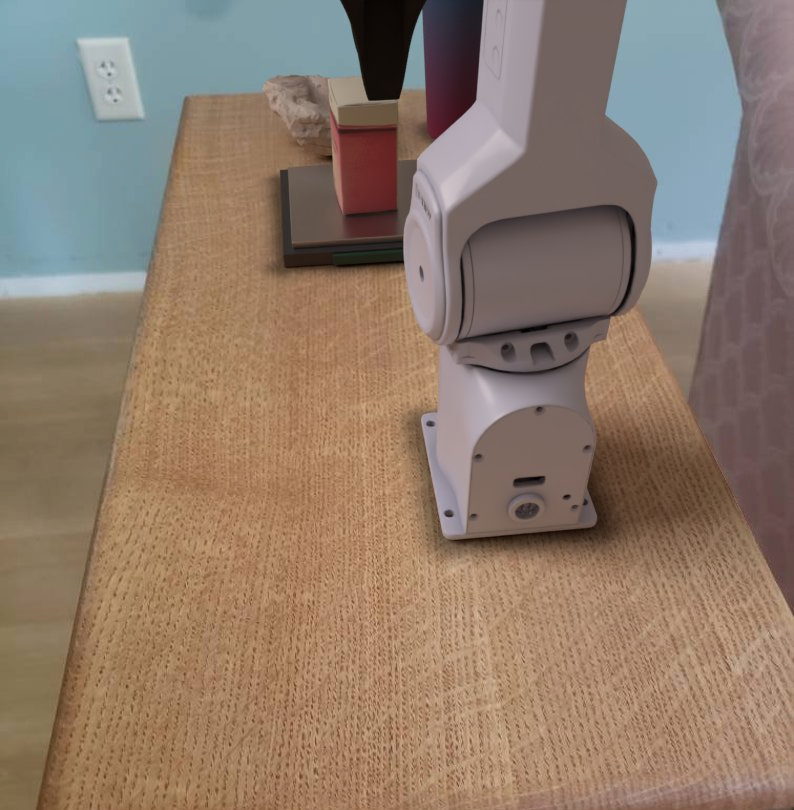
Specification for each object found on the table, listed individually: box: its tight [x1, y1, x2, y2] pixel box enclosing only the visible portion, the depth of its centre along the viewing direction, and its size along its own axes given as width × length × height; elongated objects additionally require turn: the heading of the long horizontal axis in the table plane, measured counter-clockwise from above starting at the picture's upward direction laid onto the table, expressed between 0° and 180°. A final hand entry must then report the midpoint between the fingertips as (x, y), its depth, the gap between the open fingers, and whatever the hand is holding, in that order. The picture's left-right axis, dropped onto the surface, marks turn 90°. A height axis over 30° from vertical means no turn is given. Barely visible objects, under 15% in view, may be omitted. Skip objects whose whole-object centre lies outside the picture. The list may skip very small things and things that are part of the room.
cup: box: [421, 0, 484, 140], centre depth 70 cm, size 7×7×15 cm
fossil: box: [262, 74, 332, 157], centre depth 73 cm, size 9×6×10 cm
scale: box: [279, 158, 418, 268], centre depth 65 cm, size 13×13×2 cm
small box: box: [328, 75, 399, 215], centre depth 61 cm, size 5×4×8 cm
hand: (377, 75), depth 57 cm, fingers open, 7 cm apart
